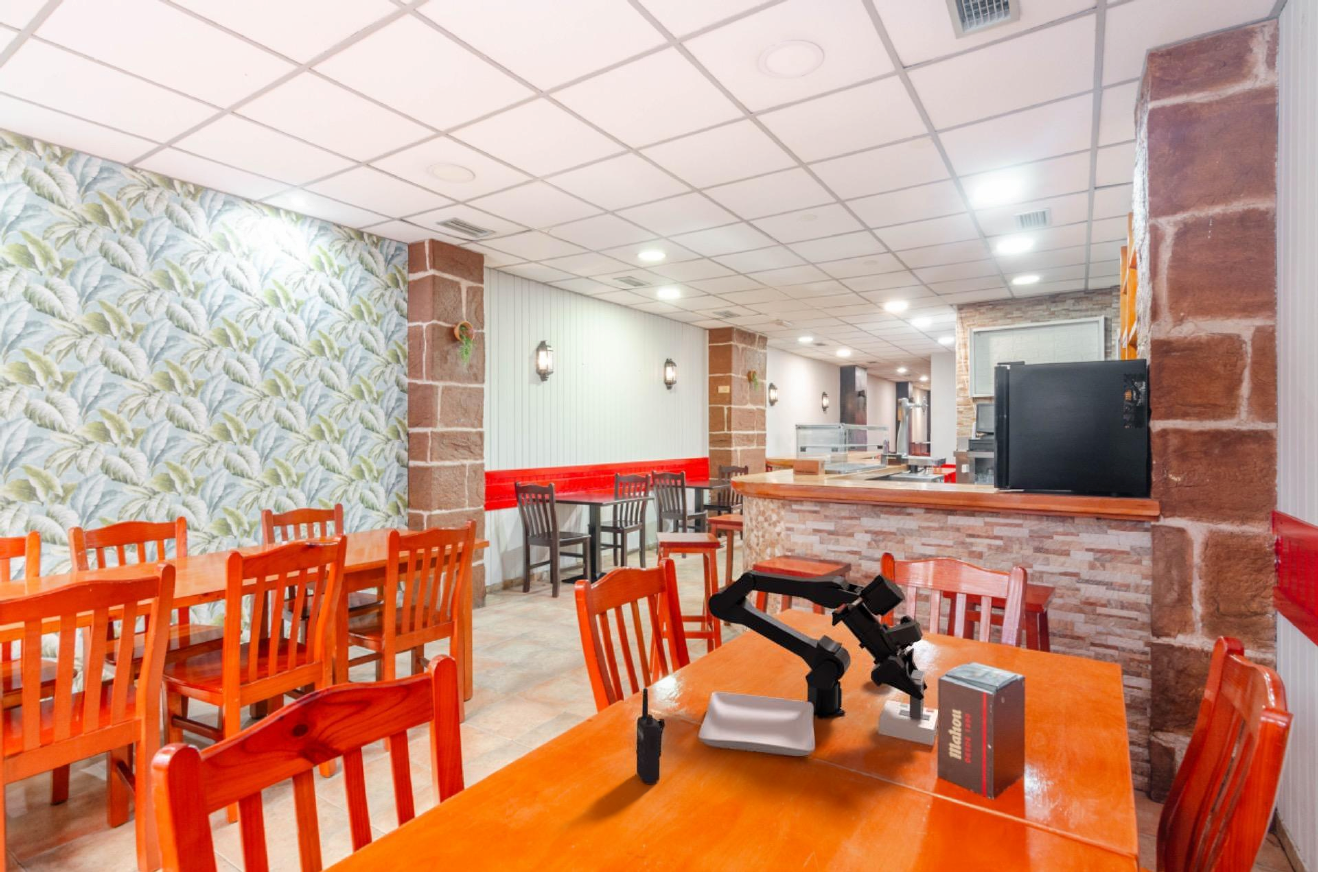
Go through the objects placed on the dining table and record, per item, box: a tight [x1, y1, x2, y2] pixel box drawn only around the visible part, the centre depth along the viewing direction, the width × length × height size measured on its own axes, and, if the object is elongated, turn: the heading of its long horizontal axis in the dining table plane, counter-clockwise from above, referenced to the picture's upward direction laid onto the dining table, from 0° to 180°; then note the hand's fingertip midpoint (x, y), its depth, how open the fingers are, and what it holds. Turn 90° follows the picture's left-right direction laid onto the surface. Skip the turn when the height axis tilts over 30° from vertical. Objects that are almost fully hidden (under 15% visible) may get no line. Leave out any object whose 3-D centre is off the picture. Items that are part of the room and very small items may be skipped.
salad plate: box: [697, 691, 816, 757], centre depth 131 cm, size 21×21×3 cm
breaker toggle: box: [909, 669, 925, 719], centre depth 133 cm, size 2×5×8 cm, turn 152°
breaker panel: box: [877, 699, 939, 746], centre depth 133 cm, size 10×10×3 cm
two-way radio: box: [635, 687, 666, 785], centre depth 114 cm, size 6×4×15 cm
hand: (924, 693), depth 132 cm, fingers closed on breaker toggle, 5 cm apart
